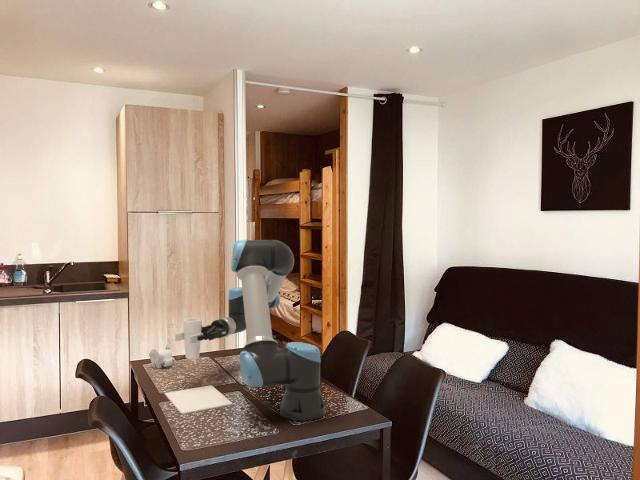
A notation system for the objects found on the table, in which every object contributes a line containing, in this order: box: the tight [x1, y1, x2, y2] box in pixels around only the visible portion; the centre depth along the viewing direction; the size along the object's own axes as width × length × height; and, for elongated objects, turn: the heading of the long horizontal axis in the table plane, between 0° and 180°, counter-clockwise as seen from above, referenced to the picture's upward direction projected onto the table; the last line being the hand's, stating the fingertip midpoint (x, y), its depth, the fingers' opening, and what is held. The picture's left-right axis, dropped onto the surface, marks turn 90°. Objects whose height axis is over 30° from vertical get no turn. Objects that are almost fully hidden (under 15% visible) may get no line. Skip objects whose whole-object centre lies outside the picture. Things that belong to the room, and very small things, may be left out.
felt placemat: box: [164, 385, 233, 416], centre depth 180 cm, size 22×18×1 cm
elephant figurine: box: [148, 344, 177, 369], centre depth 218 cm, size 10×12×9 cm
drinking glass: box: [183, 317, 203, 360], centre depth 192 cm, size 7×7×15 cm
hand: (183, 338), depth 188 cm, fingers closed on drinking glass, 7 cm apart
